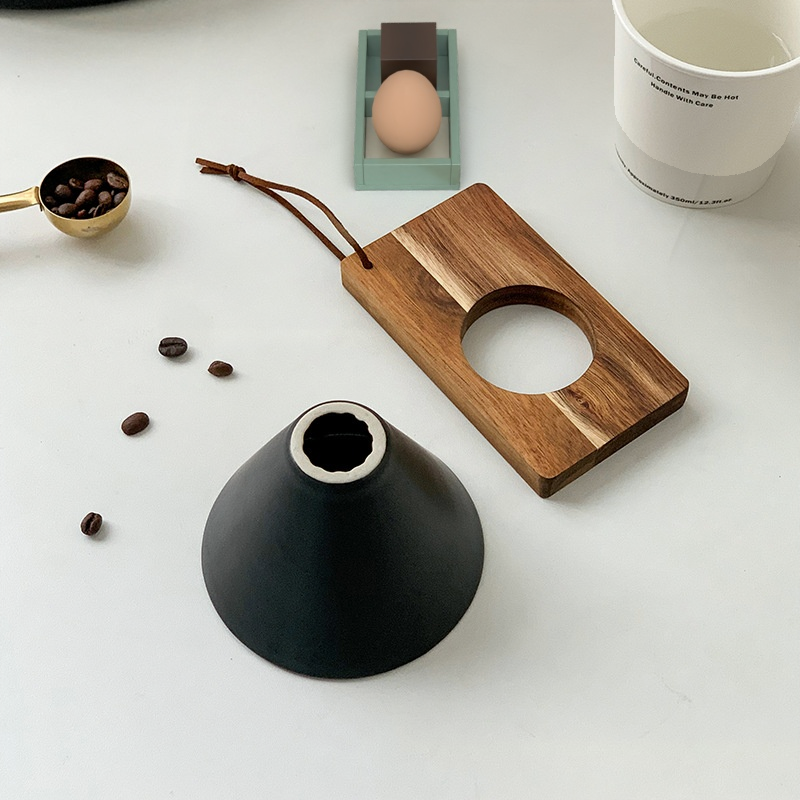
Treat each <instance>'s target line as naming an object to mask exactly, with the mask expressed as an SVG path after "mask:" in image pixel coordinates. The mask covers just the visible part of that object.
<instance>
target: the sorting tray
mask: <svg viewBox="0 0 800 800" xmlns="http://www.w3.org/2000/svg"><path fill="white" fill-rule="evenodd" d="M457 33H458V30H457V28H437V91H436V92H437V94H438V96H439V99H440V103H441V109H442V119H441V125H440V128H439V131H438V133H437V135H436V137H435V139H434V140H433V141H432V142H431V143H430V144H429V145H428V146H427V147H426V148H425V149H423V150H421V151H419V152H416V153H413V154H402V153H398V152H395V151H392V150H391V149H389V148H388V147H386V146H385V145H384V144H383V143H382V142H381V141H380V139H379V138H378V136H377V134H376V132H375V130H374V126H373V121H372V106H373V102H374V97H375V95H376V93H377V92H378V90H379V88H380V86H381V64H380V51H381V28H380V29H379V28H378V29H377V28H376V29H372V28H371V29H358V37H357V40H358V41H357V65H356V66H357V67H356V88H355V89H356V90H355V92H356V93H355V117H354V142H353V143H354V145H353V146H354V147H353V176H354V177H353V179H354V190H355V191H459V190H460V189H461V169H462V167H461V166H462V165H461V163H462V162H461V159H462V158H461V129H460V103H459V102H460V97H459V95H460V94H459V67H458V66H459V62H458V34H457Z"/></svg>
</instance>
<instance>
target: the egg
mask: <svg viewBox="0 0 800 800" xmlns="http://www.w3.org/2000/svg"><path fill="white" fill-rule="evenodd" d="M441 119H442V109H441V103H440V99H439V96H438V94H437V92H436V90H435V89H434V87H433V85H432V84H431V83H430V81H429V80H428V79H427V78H426V77H425V76H423V75H422V74H420V73H418V72H415V71H411V70H403V71H398V72H396V73H394V74H392V75H390V76H389V77H388V78H387V79H386V80H385V81H384V82H383V83H382V85H381V86H380V88H379V90H378V92H377V93H376V95H375V97H374V102H373V106H372V121H373V126H374V130H375V132H376V134H377V136H378V138H379V139H380V141H381V142H382V143H383V144H384V145H385V146H386V147H388V148H389V149H391V150H392V151H395V152H398V153H402V154H413V153H416V152H419V151H421V150H423V149H425V148H426V147H427V146H428V145H429V144H430V143H431V142H432V141H433V140H434V139H435V137H436V135H437V133H438V131H439V128H440V125H441Z"/></svg>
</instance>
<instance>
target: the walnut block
mask: <svg viewBox="0 0 800 800" xmlns="http://www.w3.org/2000/svg"><path fill="white" fill-rule="evenodd" d="M380 29H381V51H380V64H381V85H382V83H383V82H384V81H385V80H386V79H387V78H388V77H389V76H390V75H392V74H394V73H396V72H398V71H403V70H411V71H415V72H418V73H420V74H422V75H423V76H425V77H426V78H427V79H428V80H429V81H430V83H431V84H432V85H433V87H434V89H435V90H436V91H437V29H438V28H437V21H416V22H415V21H414V22H412V21H411V22H409V21H408V22H407V21H406V22H381V23H380Z"/></svg>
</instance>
